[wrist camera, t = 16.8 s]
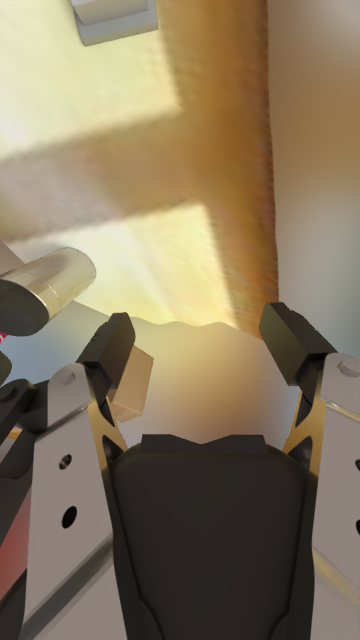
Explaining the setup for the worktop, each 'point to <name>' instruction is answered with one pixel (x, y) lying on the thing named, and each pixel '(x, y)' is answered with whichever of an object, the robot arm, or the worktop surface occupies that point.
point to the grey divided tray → (113, 19)
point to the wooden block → (132, 387)
